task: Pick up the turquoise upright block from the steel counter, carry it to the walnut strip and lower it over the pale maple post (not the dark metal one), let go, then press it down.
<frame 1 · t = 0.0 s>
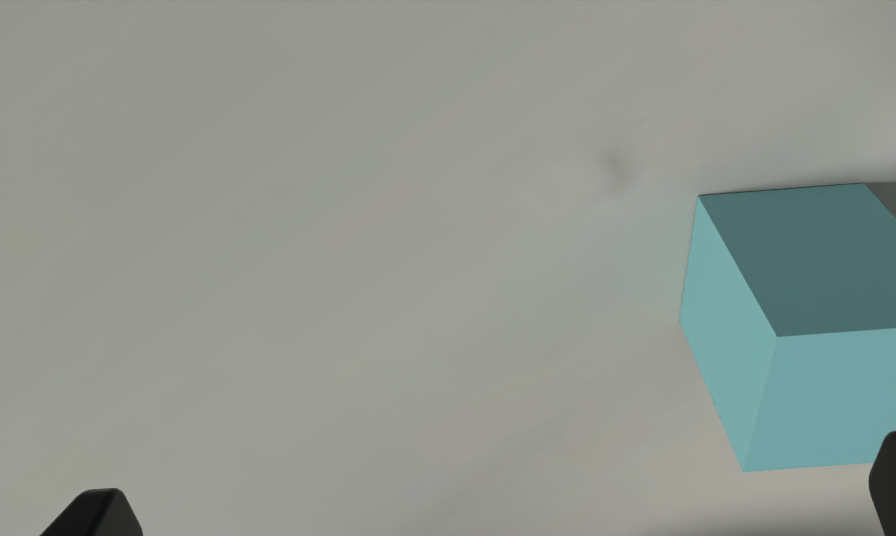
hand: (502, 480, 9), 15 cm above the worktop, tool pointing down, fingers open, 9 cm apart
turquoise upright block: (765, 256, 26), on the worktop
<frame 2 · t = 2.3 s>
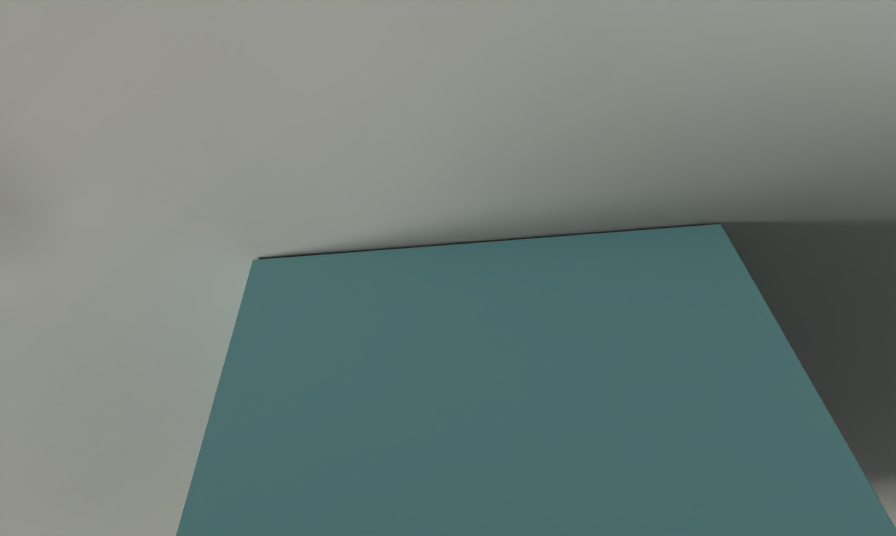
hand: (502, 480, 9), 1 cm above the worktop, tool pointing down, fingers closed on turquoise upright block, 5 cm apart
turquoise upright block: (493, 403, 10), on the worktop, touching gripper
when the fingers open (3 cm above the worktop, at t = 6.0 s): turquoise upright block drops 1 cm, resting on walnut strip.
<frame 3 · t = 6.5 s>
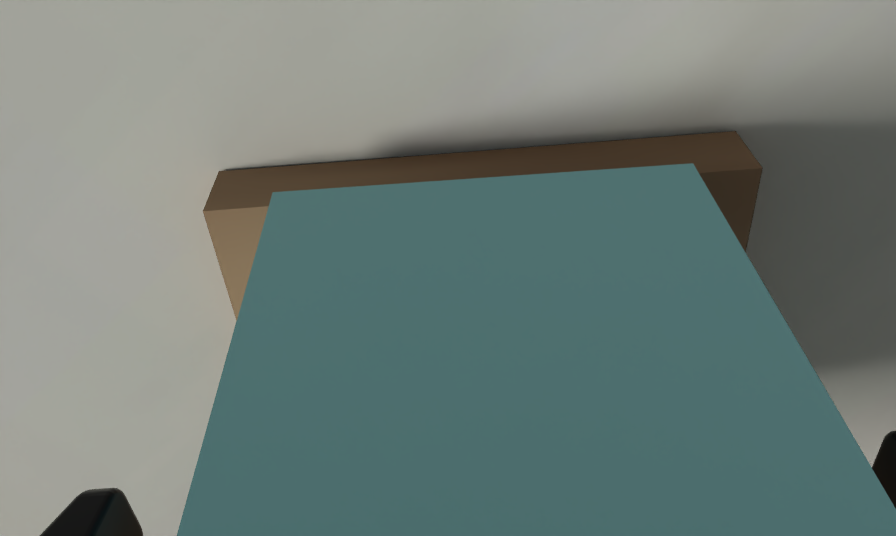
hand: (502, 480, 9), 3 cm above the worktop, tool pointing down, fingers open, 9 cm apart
walnut strip: (493, 478, 15), on the worktop
turquoise upright block: (488, 334, 11), point 1 cm above the worktop, touching walnut strip
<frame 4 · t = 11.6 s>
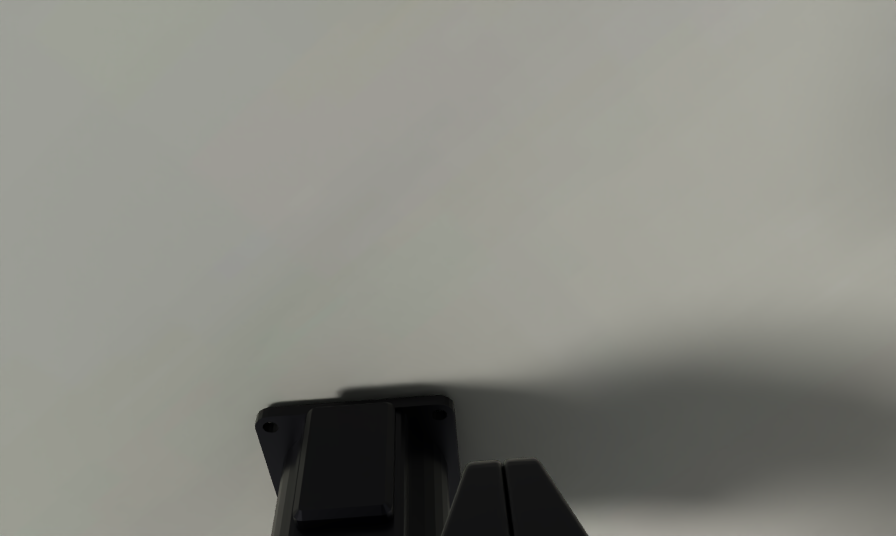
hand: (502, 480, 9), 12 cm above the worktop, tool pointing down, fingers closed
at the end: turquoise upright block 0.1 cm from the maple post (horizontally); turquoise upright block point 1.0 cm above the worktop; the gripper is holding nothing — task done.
